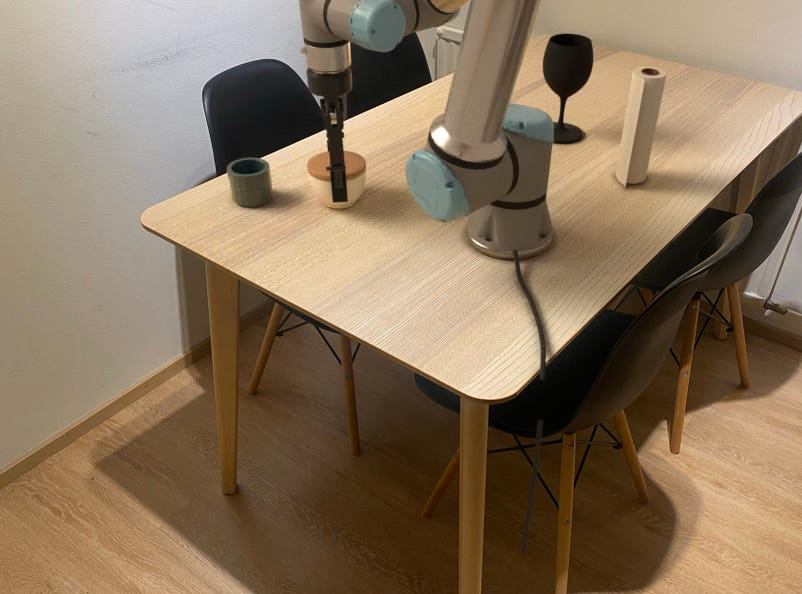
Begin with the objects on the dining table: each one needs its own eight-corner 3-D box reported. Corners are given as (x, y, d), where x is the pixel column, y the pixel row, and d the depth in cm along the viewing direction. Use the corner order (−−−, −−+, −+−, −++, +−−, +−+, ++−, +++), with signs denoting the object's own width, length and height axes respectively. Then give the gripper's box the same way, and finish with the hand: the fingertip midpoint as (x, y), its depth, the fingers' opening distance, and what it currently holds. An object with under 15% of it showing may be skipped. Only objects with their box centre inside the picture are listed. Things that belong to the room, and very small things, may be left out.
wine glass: (528, 126, 173) (537, 34, 160) (571, 121, 175) (583, 30, 162) (546, 145, 165) (557, 50, 152) (590, 140, 168) (604, 46, 155)
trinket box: (315, 218, 140) (310, 170, 134) (307, 190, 148) (302, 144, 142) (373, 211, 142) (370, 164, 136) (362, 184, 150) (359, 139, 144)
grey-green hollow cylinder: (273, 207, 143) (268, 175, 139) (231, 209, 142) (225, 177, 138) (273, 187, 149) (269, 156, 144) (233, 190, 147) (227, 158, 143)
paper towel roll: (631, 168, 158) (650, 63, 144) (651, 180, 154) (674, 73, 140) (604, 176, 155) (622, 69, 141) (624, 188, 151) (645, 80, 137)
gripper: (304, 45, 137) (316, 160, 151) (307, 93, 120) (320, 218, 134) (346, 43, 138) (354, 158, 152) (356, 91, 121) (363, 216, 135)
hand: (338, 186), depth 143 cm, fingers closed on trinket box, 11 cm apart
